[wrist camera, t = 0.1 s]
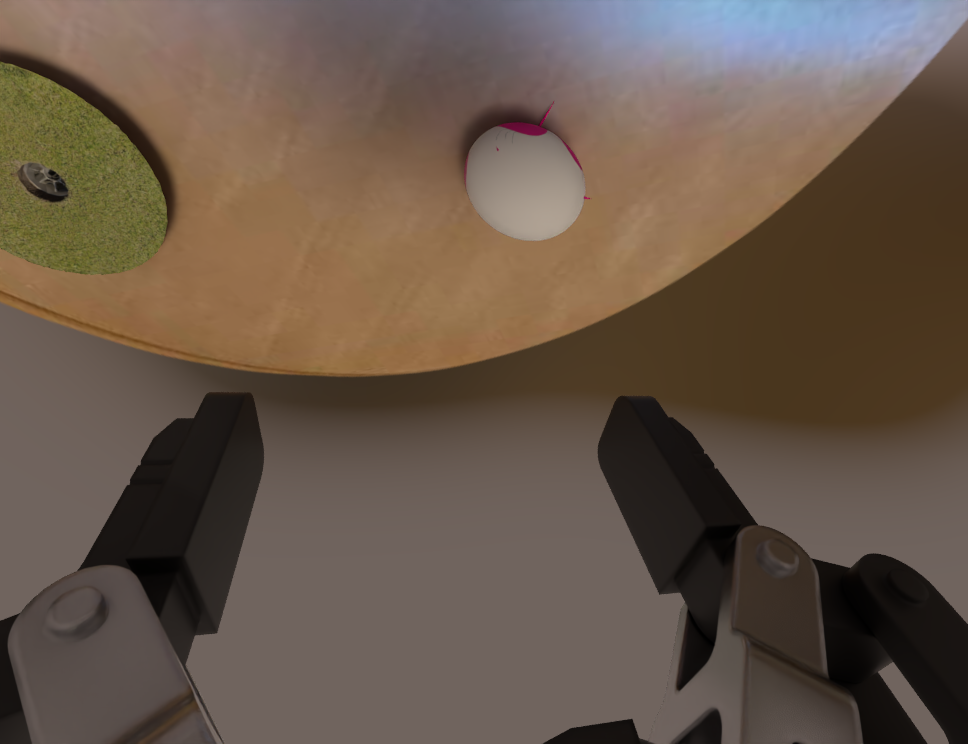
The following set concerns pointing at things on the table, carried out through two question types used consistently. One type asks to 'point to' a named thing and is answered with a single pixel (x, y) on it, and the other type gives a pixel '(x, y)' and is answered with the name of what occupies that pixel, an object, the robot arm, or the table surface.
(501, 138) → the stress ball
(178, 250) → the table surface
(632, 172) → the table surface
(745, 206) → the table surface
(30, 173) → the mat
